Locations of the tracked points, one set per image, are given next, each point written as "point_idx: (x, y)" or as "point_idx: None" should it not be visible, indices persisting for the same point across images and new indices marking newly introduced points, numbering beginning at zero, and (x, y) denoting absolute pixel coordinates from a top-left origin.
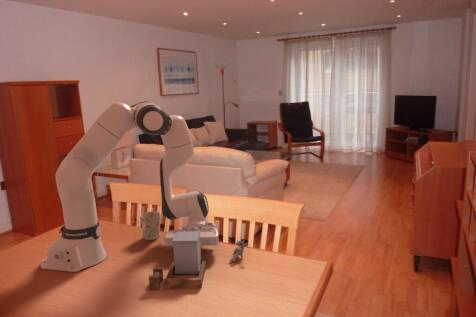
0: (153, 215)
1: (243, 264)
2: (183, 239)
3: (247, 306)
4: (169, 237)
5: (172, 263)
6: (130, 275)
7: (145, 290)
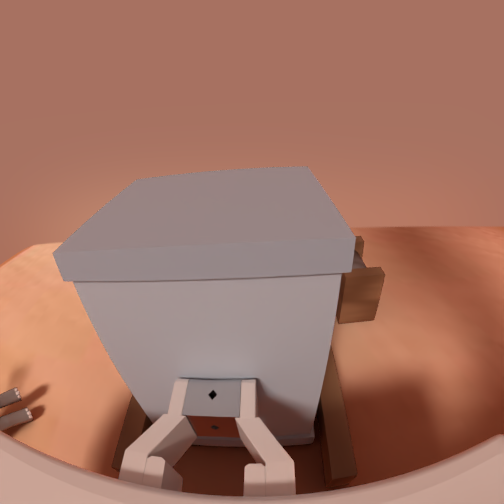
0: None
1: (6, 390)
2: (228, 175)
3: None
4: (478, 450)
5: (335, 381)
6: (471, 327)
7: None
